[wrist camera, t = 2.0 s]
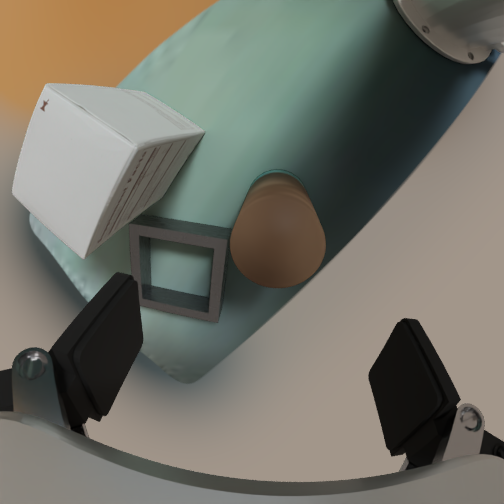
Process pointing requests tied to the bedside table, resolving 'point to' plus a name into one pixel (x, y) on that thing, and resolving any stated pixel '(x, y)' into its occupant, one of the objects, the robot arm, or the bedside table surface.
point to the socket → (186, 234)
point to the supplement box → (98, 160)
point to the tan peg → (277, 232)
